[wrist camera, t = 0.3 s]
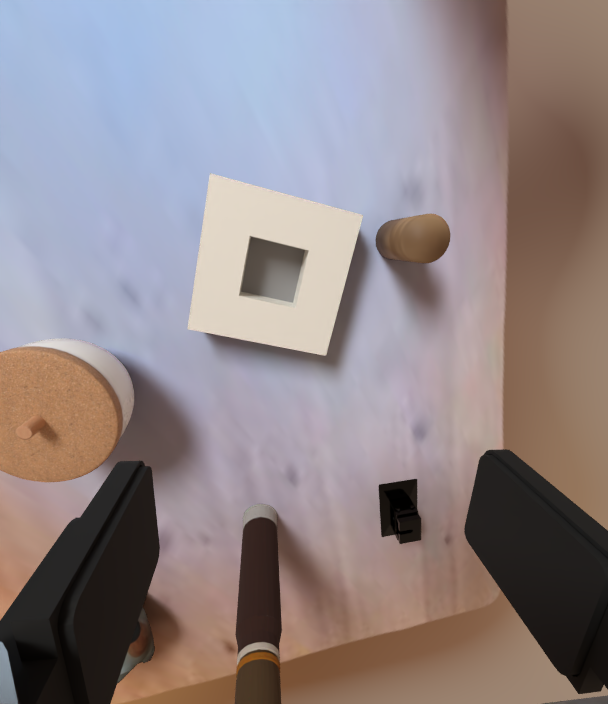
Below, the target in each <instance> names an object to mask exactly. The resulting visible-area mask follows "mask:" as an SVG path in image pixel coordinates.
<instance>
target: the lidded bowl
mask: <svg viewBox="0 0 608 704" xmlns="http://www.w3.org/2000/svg"><path fill="white" fill-rule="evenodd" d="M133 407H134V389H133V384H132V380H131V378H130V375H129V373H128V371H127V370H126V368H125V367H124V366H123V364H122V363H121V362H120V361H119V360H118V359H117V358H116V357H115V356H114V355H112V354H111V353H110V352H109V351H107V350H105V349H104V348H102V347H100V346H97V345H95V344H93V343H89V342H86V341H82V340H76V339H62V338H59V339H48V340H41V341H37V342H32V343H29V344H26V345H22V346H19V347H17V348H13V349H9V350H6V351H3V352H0V470H1V471H4V472H6V473H8V474H10V475H13V476H16V477H19V478H22V479H26V480H32V481H39V482H60V481H66V480H72V479H75V478H78V477H81V476H83V475H86V474H88V473H90V472H92V471H93V470H95V469H96V468H98V467H99V466H100V465H101V464H102V463H103V462H104V461H105V460H106V459H107V458H108V457H109V455H110V454H111V453H112V451H113V450H114V448H115V447H116V445H117V443H118V441H119V439H120V438H121V436H122V435H123V433H124V431H125V429H126V427H127V425H128V423H129V421H130V418H131V415H132V411H133Z"/></svg>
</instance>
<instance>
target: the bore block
mask: <svg viewBox="0 0 608 704" xmlns="http://www.w3.org/2000/svg"><path fill="white" fill-rule="evenodd" d="M362 218H363V215H360V214H357V213H353V212H349V211H346V210H342V209H338V208H335V207H331V206H327V205H324V204H320V203H316V202H313V201H309V200H306V199H302V198H298V197H295V196H291V195H287V194H284V193H280V192H276V191H273V190H269V189H265V188H262V187H258V186H254V185H251V184H247V183H244V182H240V181H236V180H233V179H229V178H225V177H222V176H218V175H214V174H211V173H210V177H209V184H208V191H207V198H206V205H205V212H204V219H203V226H202V233H201V240H200V247H199V254H198V261H197V268H196V274H195V281H194V288H193V295H192V302H191V309H190V316H189V323H188V329H190V330H195V331H200V332H205V333H210V334H216V335H221V336H226V337H231V338H236V339H241V340H247V341H252V342H257V343H262V344H267V345H272V346H278V347H283V348H288V349H293V350H298V351H303V352H308V353H314V354H319V355H324V356H326V354H327V350H328V346H329V342H330V338H331V335H332V331H333V327H334V323H335V320H336V316H337V312H338V308H339V304H340V301H341V297H342V293H343V289H344V286H345V282H346V278H347V274H348V271H349V267H350V263H351V259H352V255H353V252H354V248H355V244H356V240H357V237H358V233H359V229H360V225H361V221H362Z"/></svg>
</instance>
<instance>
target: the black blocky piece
mask: <svg viewBox="0 0 608 704" xmlns="http://www.w3.org/2000/svg"><path fill="white" fill-rule="evenodd" d="M379 499H380V517H381V535H382V537H385V536H390V535H395V536H396V538H397V540H398V541H399V543H400V544H402V543H408V542H413V541H418V540H421V518H420V516H419V514H418V511H417V479H412V480H406V481H400V482H393V483H387V484H381V485H379Z"/></svg>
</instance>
